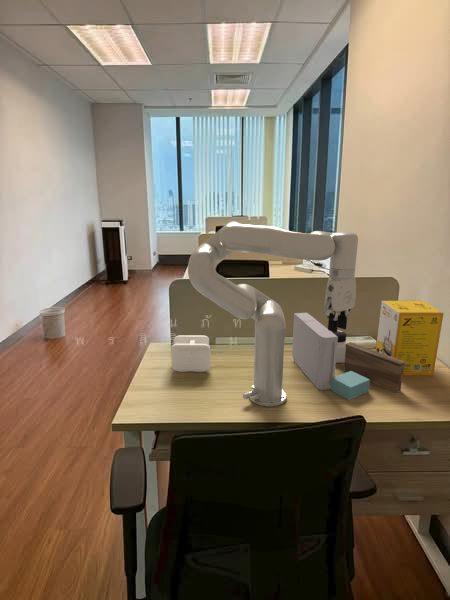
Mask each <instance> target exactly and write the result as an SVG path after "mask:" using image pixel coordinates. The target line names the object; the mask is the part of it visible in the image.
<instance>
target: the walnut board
mask: <svg viewBox="0 0 450 600" xmlns="http://www.w3.org/2000/svg"><path fill="white" fill-rule="evenodd" d="M345 347H346V352H345V362H344V364H343V371H346V372H349V371H353V372H355V373H357V374H359V375H361V376H363V377H365V378H367V379H370V382H371V383H374V384H375V385H377V386H381V388H382V387H383V388H385V389H387V390H389V391H392V392H394V393H396V394H398V393H400V392H401V389H402V382H403V377H404V375H403V369H404V364H405V361H402V360H399V359H396V358H393V357H391V356H388V355H385V354H382V353H379V352H377V351H376V350H374V349H370V348H368V347H365V346H362V345H360V344H356V343H354V342H351V341H350V342H348V343H346V345H345Z"/></svg>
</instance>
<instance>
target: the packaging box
mask: <svg viewBox="0 0 450 600" xmlns="http://www.w3.org/2000/svg"><path fill="white" fill-rule="evenodd" d="M379 312H380V314H379V322H378V329H377V339H376V347H375V351H377V352H379V353H382V354H385V355H388V356H391V357H393V358H396V359H399V360H402V361H405V364H404V369H403V376H434V372H435V366H436V360H437V355H438V349H439V343H440V337H441V331H442V324H443V319H444V312H442V311H441V310H439V309H437V308H436V307H435V306H432V305H430V304H429V303H427V302H426V301H424V300H381V304H380V311H379Z"/></svg>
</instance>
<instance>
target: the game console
mask: <svg viewBox="0 0 450 600" xmlns="http://www.w3.org/2000/svg"><path fill="white" fill-rule="evenodd" d="M292 329H293V331H292V332H293V333H292V345H291V346H292V348H291V352H292V359H293V361H294V362H295V364H296V365H297V366H298V367H299V369H300V370H301V371H302V373H304V374H305V376H306V377H307V378H308V379H309V380H310V382H311V383H312V384H313V385H314V386H315V388H316V389H317V390H320V391H324V390H331V385H332V378H333V377H336V376H335V374H336V366H337V365H336V354H337V342H338V336H336V335H335V334H333V333H332V331H329V330H328V327H326V326H325V325H323V324H322V323H321V322H319V320H317V319H316V318H315V317H314V316H312V315H310V313H308V312H296V313H295V312H294V313H293V327H292Z"/></svg>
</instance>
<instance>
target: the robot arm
mask: <svg viewBox="0 0 450 600" xmlns="http://www.w3.org/2000/svg"><path fill="white" fill-rule="evenodd" d="M358 245H359V237H358V235H357V233H354V232H348V231H341V232H340V231H339V232H329V231H324V230H314V231H312V232H310V233H305V232H296V231H290V230H286V229H283V228H280V227H277V226H273V225H272V226H270V225H259V224H258V225H255V224H245V223H244V224H243V223H241V222H238V221H229V222H227V223H226V224H225V225H223V226H222V227H221V228H220V229H218V230H217V231H216V232H215V233H213V234H212V235H211V236H210V237H209V238H208V239H207V240H205V241H204V242H202V243H201V244H200V245H199V246H198V247H196V248H195V249H194V251H193V252H192V253H191V255H190V257H189V259H188V262H187V275H188V279H189V281H190V284H191V285H192V286H193V289H195V290H196V291H197V292H198V293H199V294H200V295H202V296H203V297H206V299H209V301H212V302H213V303H214V304H216V305H217V306H219V307H220V308H222V309H223V310H225V311H227V312H228V313H230V315H232V316H234V317H236V318H237V319H241V320H247V319H250V318H251V319H253V321H254V363H253V364H254V366H253V367H254V368H253V385H251V389H250V390H249V391H248V392H245V393H243V394H242V398H243V399H244V400H247V399H250V401H251V402H253V404H255V405H259V406H262V407H269V408H270V407H277V406H281V405H282V404H284V403H285V402H286V401H287V394H286V393H287V392H286V391H285V390H283V379H284V378H283V376H284V374H283V373H284V357H285V356H284V350H285V341H286V339H285V338H286V330H287V328H286V327H287V325H286V319H285V318H286V317H285V315H284V311H283V309H282V308H283V307H281V305H280V304H279V303H278V302H277V301H275V300H274V299H272V298H271V297H269V296H268V295H266V294H265V293H263V292H261V291H260V290H258V289H257V288H255V287H254V286H252V285H250V284H247V283H239V284H235V283H234V282H232V281H231V280H230V279H228V278H226V277H224V276H223V275H221V274H219V273H218V272H217V266H218V265H219V264H220V263H221V262H222V261H224V259H226V258H227V257H229V256H230V255H231V254H232V253H234V252H235V253H244V254H245V253H246V254H257V255H270V256H275V257H282V258H288V259H294V260H295V259H297V260H306V261H319V262H320V261H326V260H328V259H329V269H328V270H329V273H328V279H327V285H326V289H325V295H324V296H325V297H324V309H323V311H322V312H323V314H324V315H326V317H327V319H328V324H327V329H328V330H329V331H331V332H335V333H336V332H337V331H338V328H339V329H341V330H346V329H347V325H348V324H347V322H348V317H349V314H350V311H351V309H353V308H355V306H356V300H357V298H356V297H357V281H356V277H355V274H356V265H357V253H358Z"/></svg>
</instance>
